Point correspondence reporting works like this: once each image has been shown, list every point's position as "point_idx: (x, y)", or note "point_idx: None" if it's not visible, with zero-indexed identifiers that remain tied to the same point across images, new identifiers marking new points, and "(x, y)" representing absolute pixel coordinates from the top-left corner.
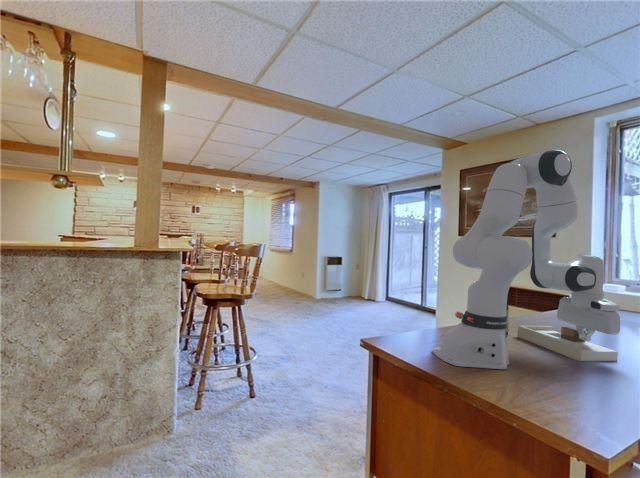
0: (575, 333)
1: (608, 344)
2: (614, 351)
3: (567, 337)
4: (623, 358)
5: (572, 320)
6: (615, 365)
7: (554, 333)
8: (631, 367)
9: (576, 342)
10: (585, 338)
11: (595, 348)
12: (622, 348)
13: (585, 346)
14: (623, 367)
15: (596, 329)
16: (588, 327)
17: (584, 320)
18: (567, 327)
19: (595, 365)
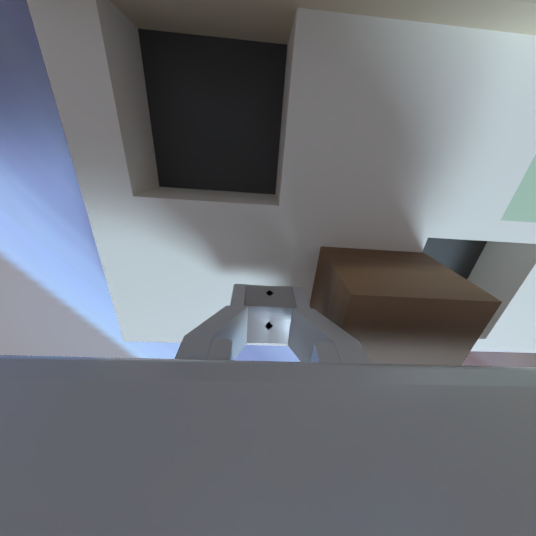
0: (336, 297)
1: None
2: (122, 326)
3: (378, 257)
4: None
5: (465, 416)
6: (58, 223)
7: (501, 310)
8: (51, 282)
9: (304, 258)
10: (242, 291)
11: (167, 261)
12: None
13: (211, 230)
14: (34, 238)
15: (2, 369)
16: (150, 368)
17: (205, 504)
18: (457, 347)
19: (2, 51)
